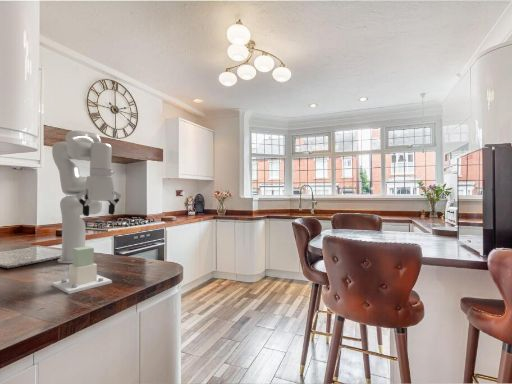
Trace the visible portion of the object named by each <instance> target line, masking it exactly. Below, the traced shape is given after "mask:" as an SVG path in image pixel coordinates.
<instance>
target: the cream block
mask: <svg viewBox="0 0 512 384" xmlns="http://www.w3.org/2000/svg"><path fill="white" fill-rule="evenodd" d="M97 275H98V264H97V263H95V262H94V263H93V265H88V266H83V267H76V266H74V265H73V264H69V265H68V279H69V282H70V283H73V284H78V285H81V284H85V283H89V282H93V281H97Z"/></svg>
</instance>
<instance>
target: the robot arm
mask: <svg viewBox="0 0 512 384" xmlns="http://www.w3.org/2000/svg"><path fill="white" fill-rule="evenodd" d="M51 150H52V151H51V154H52V159H53V162H54V163H55V165H56V167H57V171H58V173H59V179H60V186H61V191H62V193H63V194H64V195H66V196H63V198H61V199H60V202H59V208H60V213H61V220H62V221H61V229H62V230H61V257H59V258H58V259H57V263H59V264H73V248H79V247H86V222H85V220H84V219H83V218H82V217H81V216H85V217H89V216H90V215H98V214H100V213H101V211H102V210H103V203H102V202H108V203H109V204H108V214H109V215H114V214H115V212H116V210H115V208H116V205H117V204H118V203H119V201H120V199H121V197H122V194H121V193H119V192H117V191H115V188H114V187H115V185H114V178H113V177H112V175H115V171H112V154H113V153H112V150H113V147H112V145H111V144H110V143H106V142H102V140H101V136H99V134H97V133H96V132H90V131H84V130H83V131H82V130H75V129H74V130H71V131H68V132H67V133H66V135H65V141H58V142H55V143H54V144H53V145H52V148H51ZM71 160H74V161H75V160H76V161H77V160H78V161H88V162H89V175H87V176H81V175H80V168H79V167H78V166H77V165H76V164H75V163H74V162H73V161H71Z"/></svg>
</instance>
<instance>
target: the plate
mask: <svg viewBox="0 0 512 384" xmlns="http://www.w3.org/2000/svg"><path fill="white" fill-rule="evenodd" d="M110 284H113V279H110V278H107V277H104V276H102V275H99V274H97V281H93V282H89V283H85V284H81V285H78V284H73V283H70V282H69V278H65V279H61V280H58V281H53V282H52V283H51V286H53V287H55V288H56V289H58V290H61V291H62V292H64V293H66V294H68V295H70V294H74V293H78V292H81V291H82V292H83V291H86V290H90V289H93V288H97V287H98V288H99V287H101V286H105V285H110Z"/></svg>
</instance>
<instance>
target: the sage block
mask: <svg viewBox="0 0 512 384" xmlns="http://www.w3.org/2000/svg"><path fill="white" fill-rule="evenodd" d="M94 251H95V249H94V247H92V246H89V245H87V246H86V245H85V247H79V248H73V263H72V265H74V266H76V267H83V266H88V265H93V263H94V264H95V262H94V261H95V259H94V258H95V257H94V256H95V253H94Z"/></svg>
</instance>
